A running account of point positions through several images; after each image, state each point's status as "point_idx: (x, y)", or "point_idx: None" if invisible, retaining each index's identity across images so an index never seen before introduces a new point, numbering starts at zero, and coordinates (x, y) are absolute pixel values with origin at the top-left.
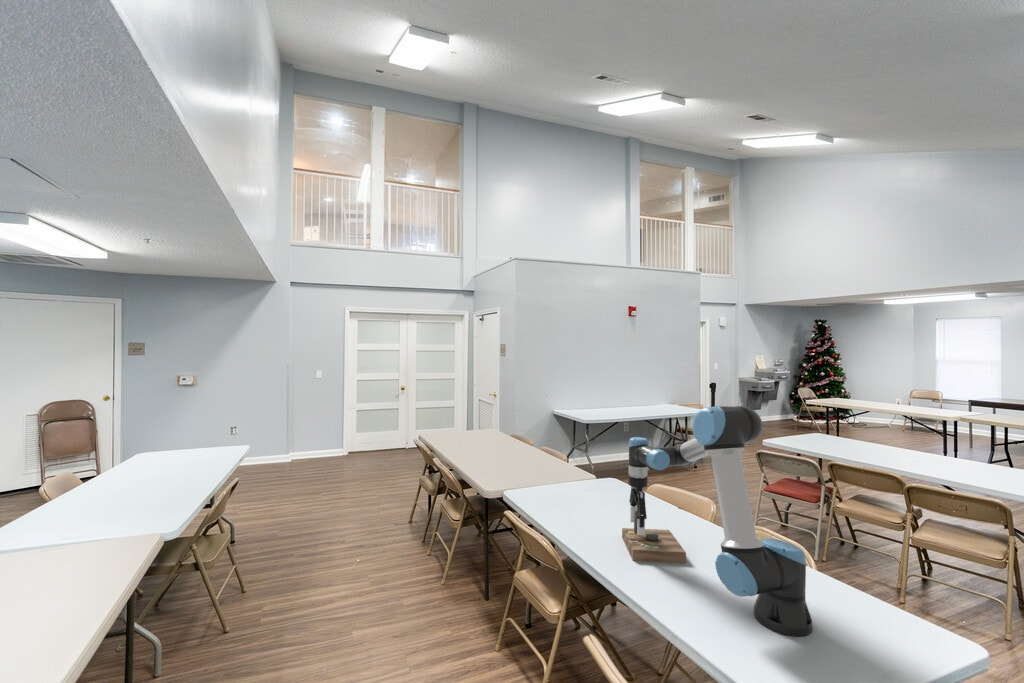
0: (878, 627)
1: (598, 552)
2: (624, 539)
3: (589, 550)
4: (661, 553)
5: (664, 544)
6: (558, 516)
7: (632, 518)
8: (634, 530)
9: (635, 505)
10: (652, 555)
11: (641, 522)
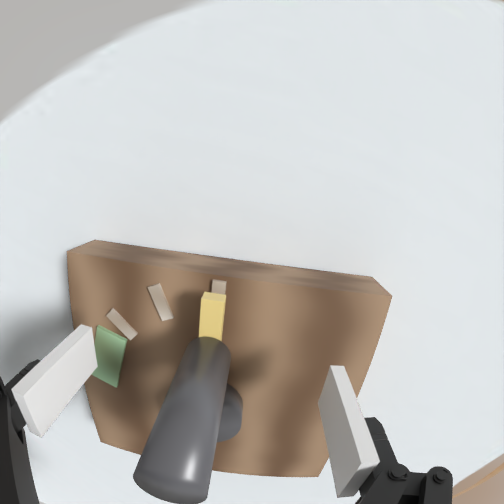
0: None
1: (184, 87)
2: (305, 273)
3: (211, 49)
4: None
5: (154, 420)
6: None
7: (332, 395)
8: (197, 344)
9: (362, 495)
10: None
11: (14, 385)
